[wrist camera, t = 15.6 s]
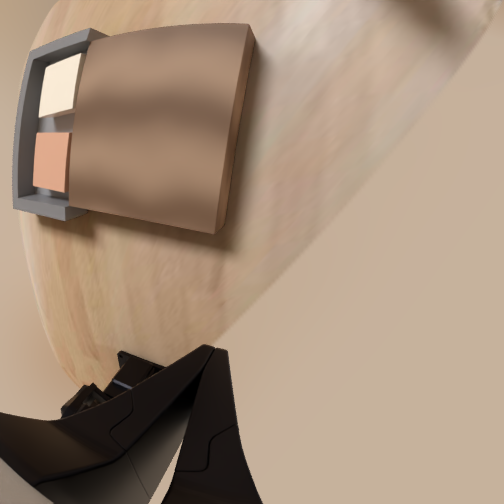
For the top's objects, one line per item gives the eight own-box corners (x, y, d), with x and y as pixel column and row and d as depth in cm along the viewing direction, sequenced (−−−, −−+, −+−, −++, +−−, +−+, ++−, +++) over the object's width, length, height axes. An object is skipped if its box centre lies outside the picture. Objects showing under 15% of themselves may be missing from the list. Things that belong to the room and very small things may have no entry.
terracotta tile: (79, 188, 21) (64, 192, 19) (47, 182, 21) (33, 185, 19) (84, 132, 19) (69, 132, 17) (51, 132, 19) (36, 132, 17)
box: (87, 213, 22) (65, 221, 19) (33, 202, 23) (13, 208, 20) (110, 36, 16) (90, 27, 13) (49, 55, 17) (29, 51, 14)
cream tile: (87, 109, 18) (72, 108, 16) (53, 117, 19) (38, 117, 17) (95, 57, 16) (81, 53, 15) (59, 70, 17) (45, 67, 15)
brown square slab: (224, 225, 20) (214, 234, 18) (87, 200, 21) (68, 205, 19) (255, 38, 15) (248, 23, 13) (107, 48, 16) (90, 41, 14)
